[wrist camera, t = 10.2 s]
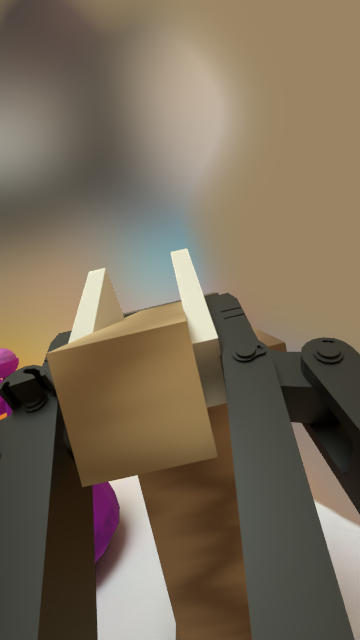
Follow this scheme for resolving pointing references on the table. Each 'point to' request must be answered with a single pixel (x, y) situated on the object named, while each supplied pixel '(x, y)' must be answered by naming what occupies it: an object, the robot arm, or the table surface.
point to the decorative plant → (104, 496)
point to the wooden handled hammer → (133, 396)
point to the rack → (203, 536)
